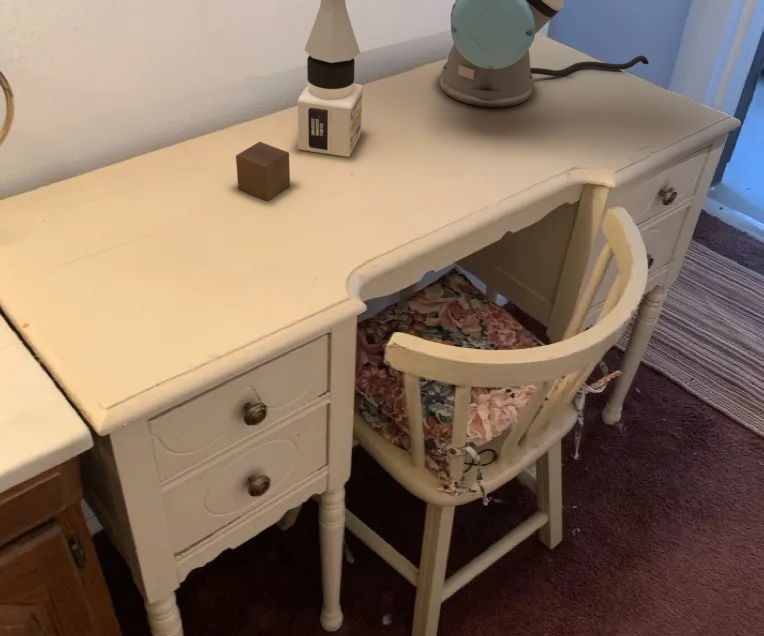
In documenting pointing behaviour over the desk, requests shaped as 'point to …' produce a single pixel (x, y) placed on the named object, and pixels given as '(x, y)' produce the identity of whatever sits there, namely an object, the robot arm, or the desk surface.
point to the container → (330, 108)
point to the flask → (332, 34)
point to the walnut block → (263, 170)
